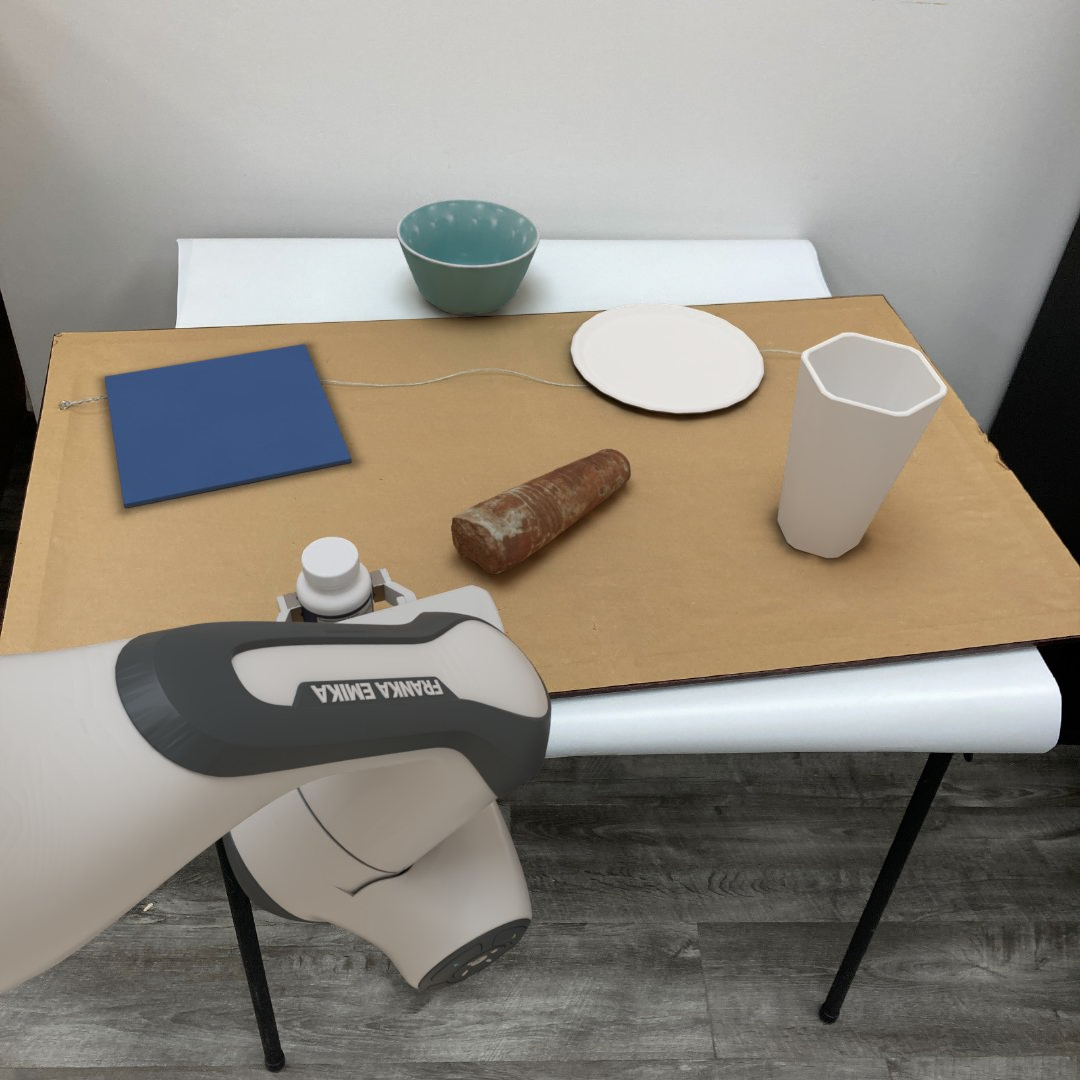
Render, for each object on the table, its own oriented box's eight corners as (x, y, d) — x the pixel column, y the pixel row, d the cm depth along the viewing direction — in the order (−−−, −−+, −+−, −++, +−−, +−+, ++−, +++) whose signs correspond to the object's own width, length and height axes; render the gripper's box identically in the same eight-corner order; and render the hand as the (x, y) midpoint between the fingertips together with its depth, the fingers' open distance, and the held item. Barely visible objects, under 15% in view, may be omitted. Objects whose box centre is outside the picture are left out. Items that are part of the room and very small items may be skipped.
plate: (751, 438, 97) (754, 428, 96) (548, 397, 100) (549, 387, 99) (771, 330, 111) (773, 321, 111) (593, 297, 115) (594, 288, 114)
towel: (124, 508, 85) (123, 504, 84) (105, 380, 98) (104, 376, 97) (351, 462, 91) (351, 458, 91) (305, 347, 104) (304, 343, 104)
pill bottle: (306, 621, 77) (290, 532, 70) (375, 614, 78) (366, 525, 71) (307, 675, 73) (290, 587, 66) (379, 667, 74) (370, 579, 67)
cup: (888, 513, 90) (953, 356, 78) (872, 586, 83) (941, 426, 71) (769, 478, 92) (814, 321, 81) (744, 547, 86) (789, 386, 74)
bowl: (550, 275, 118) (554, 210, 112) (516, 344, 107) (519, 275, 101) (426, 253, 120) (424, 188, 114) (380, 318, 109) (375, 250, 103)
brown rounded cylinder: (443, 555, 83) (442, 506, 79) (600, 464, 93) (606, 416, 89) (492, 597, 80) (493, 548, 76) (649, 498, 90) (657, 450, 86)
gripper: (235, 813, 62) (196, 654, 71) (530, 715, 69) (460, 581, 78) (217, 757, 58) (178, 595, 67) (534, 659, 64) (460, 523, 73)
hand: (332, 587), depth 72 cm, fingers closed on pill bottle, 5 cm apart
